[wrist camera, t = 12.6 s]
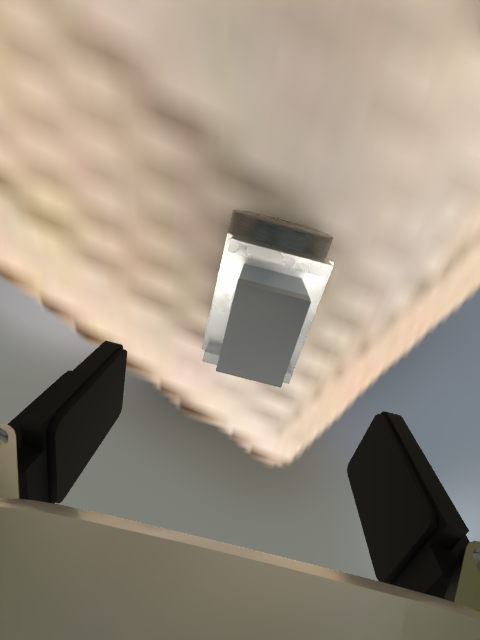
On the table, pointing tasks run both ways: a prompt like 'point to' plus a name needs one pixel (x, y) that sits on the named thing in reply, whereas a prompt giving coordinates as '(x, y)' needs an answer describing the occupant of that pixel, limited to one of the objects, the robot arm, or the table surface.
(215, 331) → the motor
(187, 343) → the table surface
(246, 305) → the grey chamfered block
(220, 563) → the robot arm
